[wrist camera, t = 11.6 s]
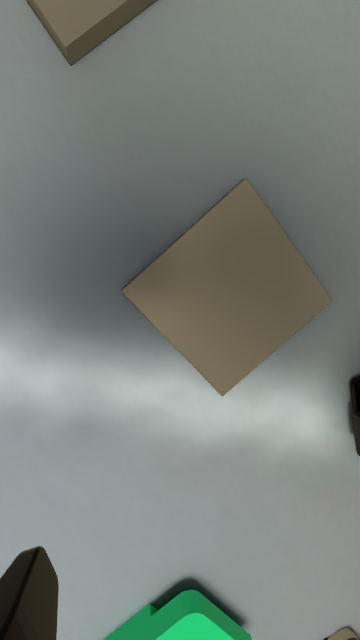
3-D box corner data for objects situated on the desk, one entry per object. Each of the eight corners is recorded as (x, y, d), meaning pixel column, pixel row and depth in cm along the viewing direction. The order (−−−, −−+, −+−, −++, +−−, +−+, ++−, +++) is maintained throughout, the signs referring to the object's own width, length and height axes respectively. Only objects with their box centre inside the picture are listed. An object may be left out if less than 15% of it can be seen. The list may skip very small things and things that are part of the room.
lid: (239, 181, 19) (246, 178, 18) (323, 297, 21) (332, 299, 21) (121, 288, 19) (121, 291, 18) (217, 389, 22) (222, 396, 21)
